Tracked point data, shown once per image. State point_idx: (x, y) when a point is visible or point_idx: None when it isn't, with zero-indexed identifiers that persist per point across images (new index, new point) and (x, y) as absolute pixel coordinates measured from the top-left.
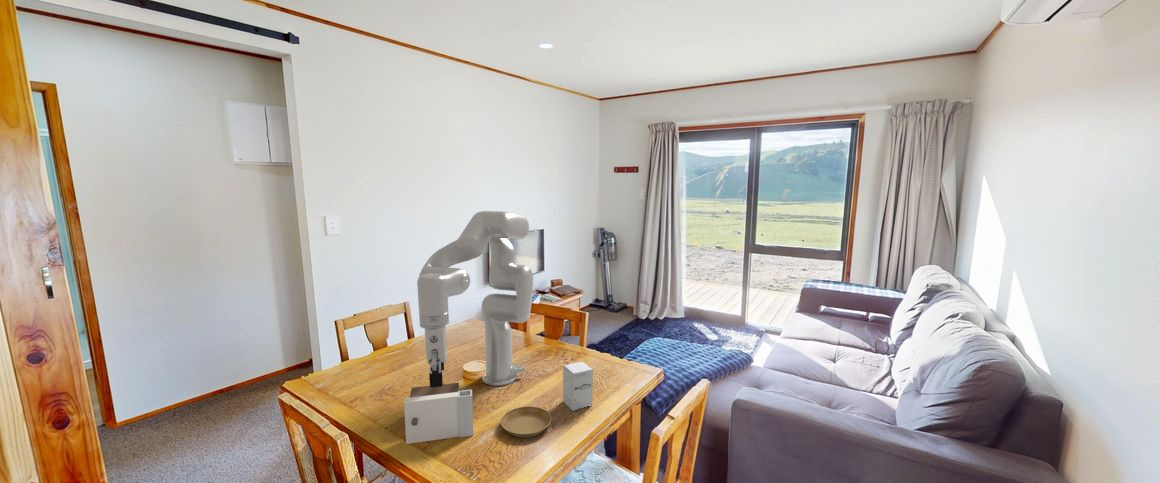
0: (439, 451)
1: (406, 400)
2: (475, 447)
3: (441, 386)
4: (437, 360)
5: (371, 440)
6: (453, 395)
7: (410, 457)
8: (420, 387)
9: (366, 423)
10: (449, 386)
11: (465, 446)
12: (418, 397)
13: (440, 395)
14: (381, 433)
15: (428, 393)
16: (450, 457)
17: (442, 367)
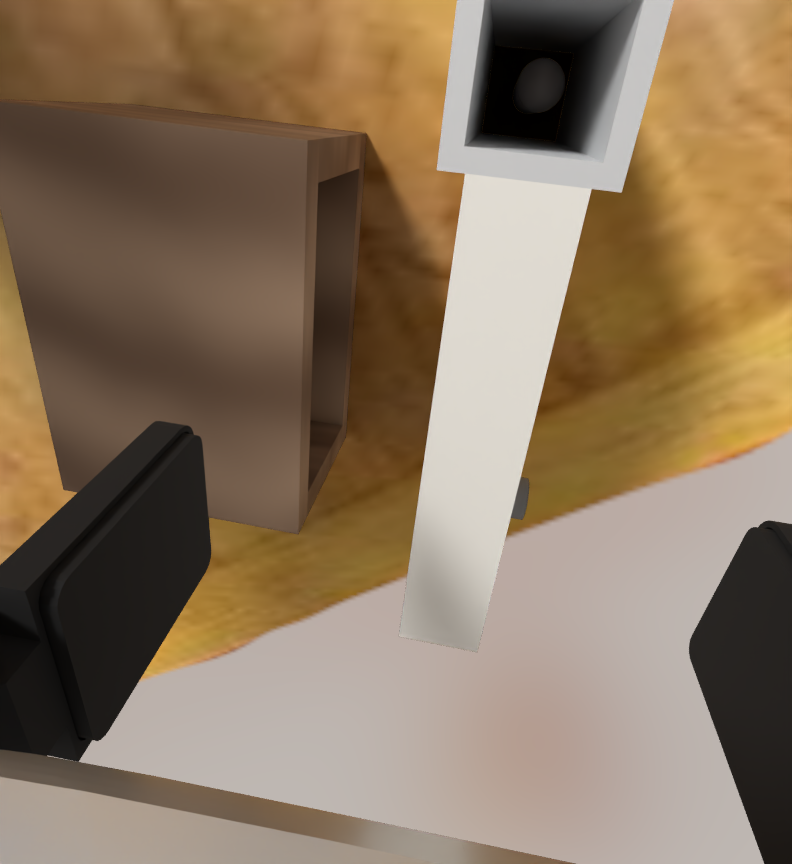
0: (658, 304)
1: (443, 635)
2: (766, 40)
3: (55, 283)
4: (104, 644)
5: (385, 581)
6: (539, 245)
7: (625, 451)
8: (63, 438)
9: (232, 589)
10: (59, 209)
11: (703, 123)
12: (425, 559)
13: (468, 385)
14: (339, 546)
15: (170, 396)
16: (770, 245)
17: (175, 470)
